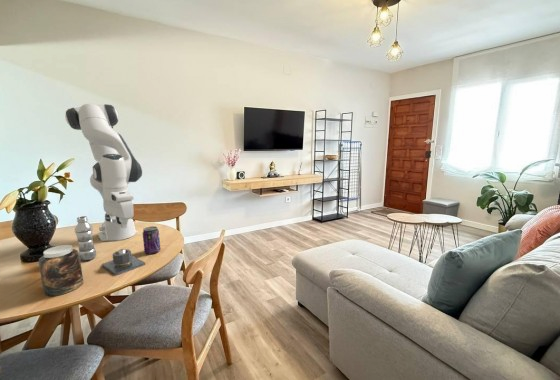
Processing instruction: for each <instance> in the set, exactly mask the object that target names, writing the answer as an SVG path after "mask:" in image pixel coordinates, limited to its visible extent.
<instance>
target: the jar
mask: <svg viewBox="0 0 560 380" xmlns="http://www.w3.org/2000/svg"><path fill="white" fill-rule="evenodd" d="M38 266H39V272H40V279H41V285H42V289H43V295H45V296H47V295H48V297H54V296H55V297H56V296H62V295H65V294H69V293H70V292H73V291H75V290H77V289H79V288H80V287H81V286H82V285H84V284H83V283H84V276H83V270H82V264H81V259H80V257H79V250H78V249H75V248H73V245H71V244H61V245H55V246H53V247H48V248H47V249H45V250H44V251H43V255H42V256H41V257H40V258H39V259H38Z"/></svg>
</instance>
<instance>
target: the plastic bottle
mask: <svg viewBox="0 0 560 380" xmlns="http://www.w3.org/2000/svg"><path fill="white" fill-rule="evenodd" d="M88 221H89V220H88V216H85V215H84V216H83V215H82V216H78V217H77V218H76V222H77V224H76V226H75V227H74V232H75V236H76V239H77V242H78V253H79V257H80V261H84V262H85V261H90V260H94V259H95V258H96V256H97V251H96V248H95V245H94V241H93V226H92V225H91V223H89V222H88Z"/></svg>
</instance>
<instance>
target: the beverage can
mask: <svg viewBox="0 0 560 380" xmlns="http://www.w3.org/2000/svg"><path fill="white" fill-rule="evenodd" d="M142 239H143V240H142V241H143V249H144V250H143V251H144V253H145V254H148V255H151V254H156V253H158V252H159V251H161V241H160V231H159V229H158V226H155V225H154V226H153V225H151V226H148V227H144V228H143V230H142Z"/></svg>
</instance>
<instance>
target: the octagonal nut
mask: <svg viewBox="0 0 560 380" xmlns="http://www.w3.org/2000/svg"><path fill="white" fill-rule="evenodd" d="M125 250H126V253H125V254H122V255H119V250H116V251H115V252H113V253H112V260H113V262H114V264H116V265H120V264H125V263H128V262H130V261H131V260H132V256H133V255H132V251H131V250H130V249H125ZM131 255H132V256H131Z"/></svg>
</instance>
